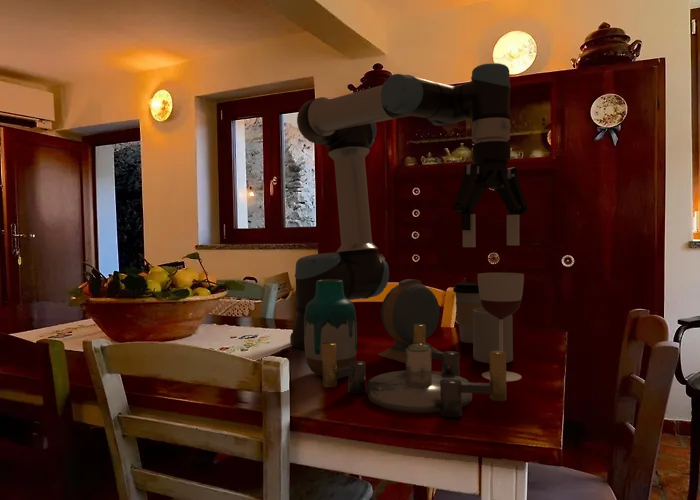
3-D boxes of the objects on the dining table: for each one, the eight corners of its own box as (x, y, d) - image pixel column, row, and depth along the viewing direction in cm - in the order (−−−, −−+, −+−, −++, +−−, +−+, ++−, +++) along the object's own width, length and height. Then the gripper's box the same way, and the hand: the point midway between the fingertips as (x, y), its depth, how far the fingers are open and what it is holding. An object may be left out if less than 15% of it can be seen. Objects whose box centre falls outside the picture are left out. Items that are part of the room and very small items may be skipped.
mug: (514, 364, 108) (513, 313, 108) (472, 363, 111) (472, 312, 110) (511, 352, 120) (510, 305, 120) (473, 350, 122) (473, 304, 122)
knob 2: (440, 417, 77) (439, 353, 77) (440, 409, 81) (440, 348, 80) (507, 420, 76) (507, 355, 75) (505, 412, 79) (504, 350, 78)
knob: (356, 387, 93) (355, 334, 93) (369, 390, 91) (368, 336, 91) (318, 401, 86) (317, 343, 86) (332, 404, 84) (331, 346, 84)
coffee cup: (488, 337, 137) (488, 281, 136) (492, 345, 127) (491, 285, 127) (452, 337, 138) (452, 281, 138) (453, 344, 129) (453, 285, 129)
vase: (368, 374, 103) (366, 279, 102) (330, 386, 95) (328, 284, 95) (332, 365, 110) (330, 277, 110) (294, 376, 103) (292, 281, 102)
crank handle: (462, 378, 98) (462, 328, 97) (454, 382, 95) (453, 330, 95) (419, 370, 104) (418, 323, 104) (410, 374, 102) (409, 325, 101)
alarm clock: (419, 347, 127) (418, 276, 127) (448, 354, 119) (447, 278, 119) (374, 355, 119) (372, 280, 118) (402, 364, 111) (400, 282, 110)
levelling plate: (346, 398, 88) (345, 345, 88) (406, 375, 102) (405, 329, 101) (436, 421, 76) (435, 360, 76) (490, 392, 90) (489, 340, 90)
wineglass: (481, 368, 106) (480, 272, 105) (526, 372, 102) (525, 272, 102) (475, 379, 98) (474, 275, 98) (523, 383, 95) (522, 276, 94)
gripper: (462, 133, 94) (463, 248, 95) (544, 145, 109) (544, 244, 109) (433, 140, 101) (435, 247, 101) (515, 150, 115) (515, 244, 115)
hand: (491, 246), depth 105 cm, fingers open, 13 cm apart
